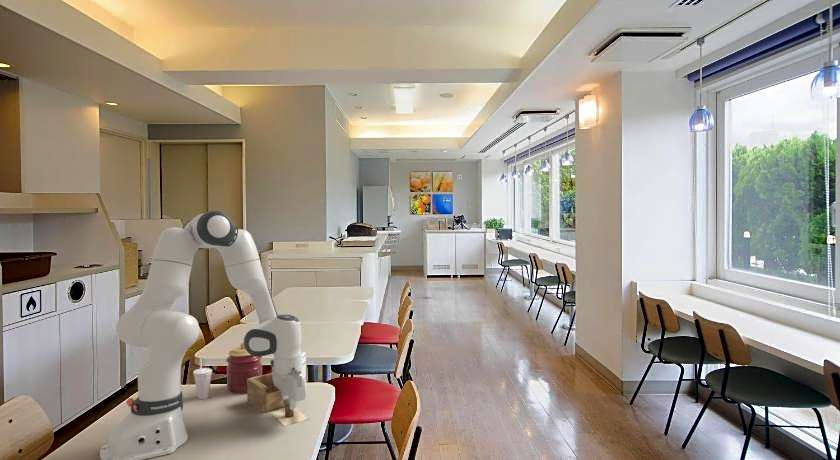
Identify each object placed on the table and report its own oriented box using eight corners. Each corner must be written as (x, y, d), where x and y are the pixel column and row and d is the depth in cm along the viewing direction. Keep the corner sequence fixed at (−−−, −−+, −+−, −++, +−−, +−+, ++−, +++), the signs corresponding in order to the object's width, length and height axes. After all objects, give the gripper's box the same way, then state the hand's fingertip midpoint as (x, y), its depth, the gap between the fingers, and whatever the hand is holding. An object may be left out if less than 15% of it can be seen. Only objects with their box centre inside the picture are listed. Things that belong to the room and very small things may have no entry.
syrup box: (306, 389, 195) (306, 351, 194) (301, 395, 189) (301, 356, 188) (292, 389, 195) (291, 351, 195) (286, 394, 189) (285, 355, 189)
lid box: (263, 413, 172) (263, 389, 172) (247, 401, 183) (246, 378, 183) (294, 405, 179) (293, 381, 179) (276, 394, 190) (276, 372, 190)
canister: (219, 391, 193) (218, 345, 193) (243, 380, 205) (242, 336, 204) (246, 396, 188) (245, 348, 188) (270, 384, 200) (269, 339, 199)
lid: (284, 429, 162) (283, 413, 162) (270, 416, 172) (269, 401, 172) (309, 422, 167) (309, 406, 167) (294, 410, 177) (293, 395, 177)
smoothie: (196, 394, 191) (195, 357, 190) (214, 393, 192) (213, 355, 191) (191, 400, 184) (190, 362, 184) (210, 399, 185) (209, 361, 185)
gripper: (310, 370, 162) (311, 414, 163) (286, 356, 179) (287, 395, 180) (291, 374, 159) (292, 419, 159) (268, 359, 175) (269, 399, 176)
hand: (289, 406), depth 170 cm, fingers open, 4 cm apart
